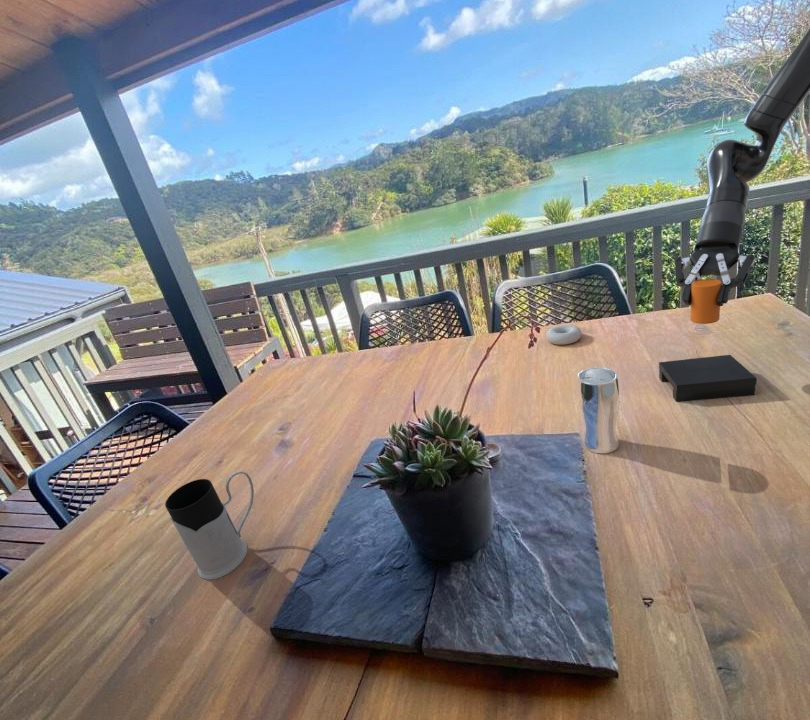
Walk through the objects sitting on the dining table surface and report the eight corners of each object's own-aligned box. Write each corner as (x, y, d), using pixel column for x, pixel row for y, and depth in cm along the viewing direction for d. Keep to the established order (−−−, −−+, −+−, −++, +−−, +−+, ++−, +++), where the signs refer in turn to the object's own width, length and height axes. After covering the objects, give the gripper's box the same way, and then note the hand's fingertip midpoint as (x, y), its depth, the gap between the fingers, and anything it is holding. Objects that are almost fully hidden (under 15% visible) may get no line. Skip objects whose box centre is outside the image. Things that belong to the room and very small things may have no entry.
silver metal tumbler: (585, 431, 88) (580, 365, 82) (623, 436, 84) (621, 367, 78) (578, 452, 83) (572, 383, 77) (618, 458, 79) (616, 386, 73)
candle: (713, 313, 92) (715, 277, 89) (723, 321, 88) (726, 283, 85) (686, 317, 94) (687, 281, 91) (695, 325, 89) (697, 288, 86)
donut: (545, 335, 135) (547, 348, 127) (544, 325, 134) (546, 337, 125) (579, 331, 132) (584, 344, 124) (579, 321, 131) (583, 333, 122)
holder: (191, 563, 79) (154, 500, 73) (260, 514, 87) (232, 453, 81) (208, 588, 72) (170, 521, 67) (281, 533, 81) (253, 468, 75)
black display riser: (728, 370, 96) (730, 354, 95) (755, 395, 86) (756, 377, 85) (658, 377, 100) (658, 362, 98) (676, 402, 90) (676, 385, 89)
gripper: (677, 222, 93) (659, 295, 90) (763, 215, 83) (746, 297, 80) (684, 241, 98) (667, 310, 96) (765, 236, 88) (749, 313, 86)
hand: (703, 303), depth 88 cm, fingers closed on candle, 5 cm apart
